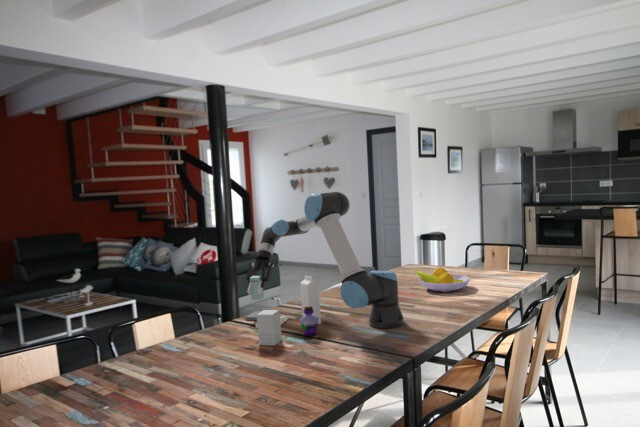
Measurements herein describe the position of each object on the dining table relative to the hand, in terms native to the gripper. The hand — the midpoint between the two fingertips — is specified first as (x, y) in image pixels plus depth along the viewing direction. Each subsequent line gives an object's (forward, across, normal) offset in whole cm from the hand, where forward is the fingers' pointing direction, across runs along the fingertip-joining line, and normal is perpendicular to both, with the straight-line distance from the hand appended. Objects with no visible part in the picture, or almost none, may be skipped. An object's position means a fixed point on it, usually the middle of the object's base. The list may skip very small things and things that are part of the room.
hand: (253, 293), depth 231 cm
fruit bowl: (-35, -85, -53) cm, 106 cm away
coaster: (+7, 0, -12) cm, 13 cm away
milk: (+13, -31, -5) cm, 34 cm away
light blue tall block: (0, 0, -5) cm, 5 cm away
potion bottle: (+24, -35, +5) cm, 42 cm away
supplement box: (+32, -22, +13) cm, 40 cm away
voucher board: (+14, -11, -4) cm, 18 cm away
